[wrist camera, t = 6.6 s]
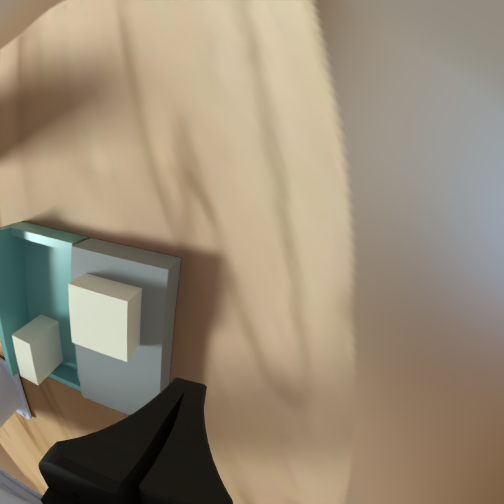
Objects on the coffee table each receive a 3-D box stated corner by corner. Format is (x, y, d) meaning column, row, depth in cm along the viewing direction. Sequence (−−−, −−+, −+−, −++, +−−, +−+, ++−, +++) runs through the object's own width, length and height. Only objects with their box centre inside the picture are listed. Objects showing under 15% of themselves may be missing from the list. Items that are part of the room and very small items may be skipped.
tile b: (87, 328, 19) (71, 342, 17) (85, 273, 18) (68, 283, 16) (139, 345, 19) (127, 362, 17) (142, 288, 18) (127, 301, 16)
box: (33, 353, 23) (9, 374, 19) (22, 221, 20) (-13, 231, 16) (92, 379, 23) (70, 406, 19) (88, 236, 20) (53, 251, 16)
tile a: (63, 360, 22) (46, 353, 22) (58, 321, 21) (41, 314, 21) (38, 385, 19) (20, 375, 19) (29, 344, 18) (11, 334, 18)
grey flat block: (95, 380, 23) (82, 397, 21) (91, 237, 20) (71, 246, 17) (168, 404, 23) (159, 424, 20) (181, 257, 20) (168, 269, 17)
